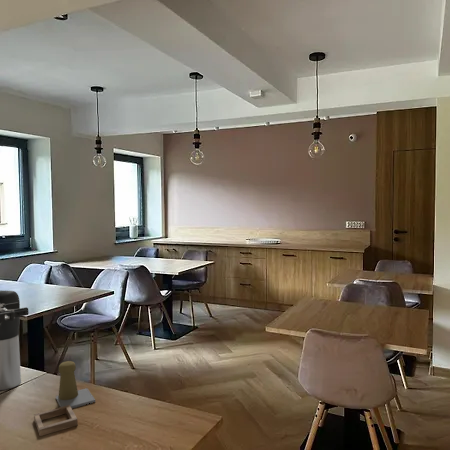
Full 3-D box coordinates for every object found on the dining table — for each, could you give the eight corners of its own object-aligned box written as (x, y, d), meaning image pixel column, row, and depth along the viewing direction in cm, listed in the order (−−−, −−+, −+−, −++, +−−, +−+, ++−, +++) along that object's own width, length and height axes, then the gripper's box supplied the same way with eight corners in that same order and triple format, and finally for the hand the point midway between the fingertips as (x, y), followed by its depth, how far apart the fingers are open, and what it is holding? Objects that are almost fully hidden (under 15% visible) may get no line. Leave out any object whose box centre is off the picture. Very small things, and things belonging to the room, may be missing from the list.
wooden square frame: (34, 420, 124) (33, 414, 124) (69, 410, 129) (69, 404, 129) (39, 436, 115) (39, 429, 115) (77, 425, 121) (77, 419, 121)
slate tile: (55, 398, 137) (55, 395, 137) (87, 390, 143) (87, 388, 143) (62, 411, 129) (62, 408, 129) (95, 402, 134) (95, 399, 134)
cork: (71, 389, 142) (70, 357, 141) (82, 394, 138) (80, 361, 137) (54, 396, 137) (53, 363, 136) (64, 401, 133) (63, 367, 132)
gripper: (-35, 310, 111) (30, 299, 121) (-46, 301, 121) (15, 292, 132) (-33, 339, 111) (32, 325, 122) (-44, 327, 122) (16, 316, 132)
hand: (23, 308), depth 127 cm, fingers open, 8 cm apart
